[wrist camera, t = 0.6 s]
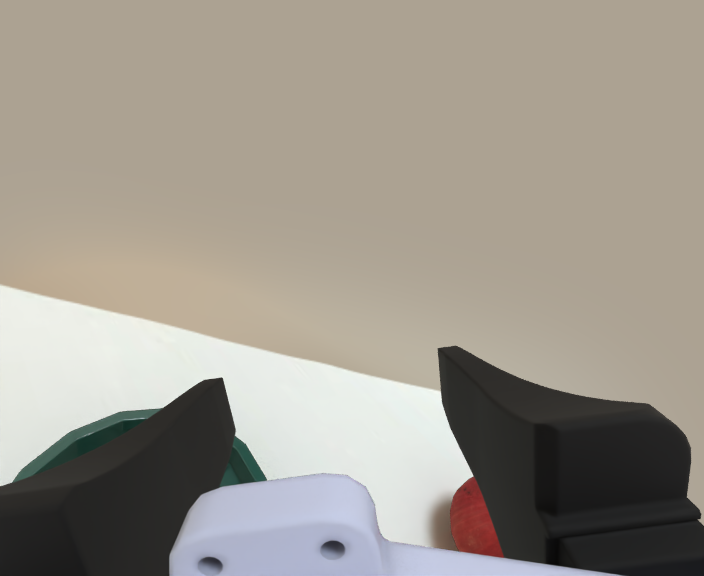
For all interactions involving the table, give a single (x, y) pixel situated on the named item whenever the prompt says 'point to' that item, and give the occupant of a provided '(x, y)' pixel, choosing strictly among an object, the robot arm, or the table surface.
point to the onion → (473, 522)
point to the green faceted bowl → (111, 427)
